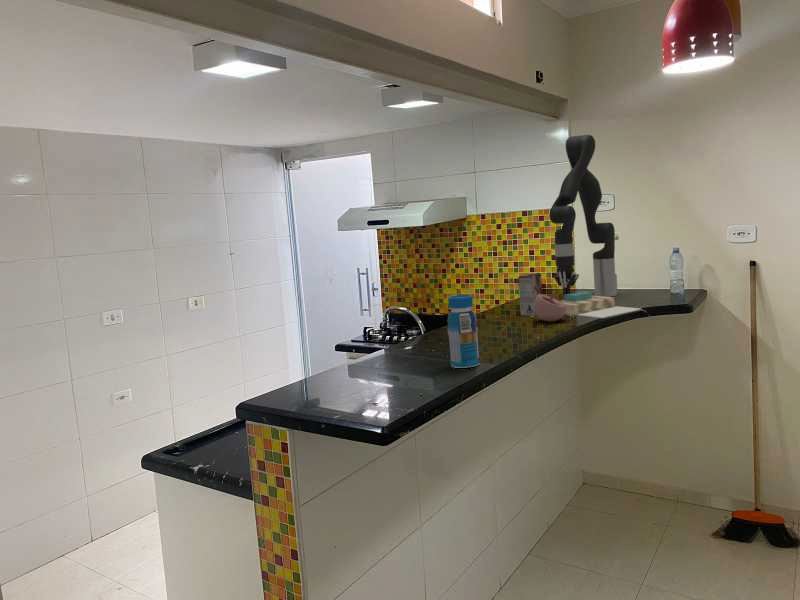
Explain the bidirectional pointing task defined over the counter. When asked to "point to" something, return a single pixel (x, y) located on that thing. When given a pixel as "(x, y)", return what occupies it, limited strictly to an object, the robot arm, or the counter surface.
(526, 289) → the coffee box
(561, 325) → the counter surface
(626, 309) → the white flat panel
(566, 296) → the teal tile
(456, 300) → the beverage bottle
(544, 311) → the mortar and pestle
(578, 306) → the oak deck
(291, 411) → the counter surface
